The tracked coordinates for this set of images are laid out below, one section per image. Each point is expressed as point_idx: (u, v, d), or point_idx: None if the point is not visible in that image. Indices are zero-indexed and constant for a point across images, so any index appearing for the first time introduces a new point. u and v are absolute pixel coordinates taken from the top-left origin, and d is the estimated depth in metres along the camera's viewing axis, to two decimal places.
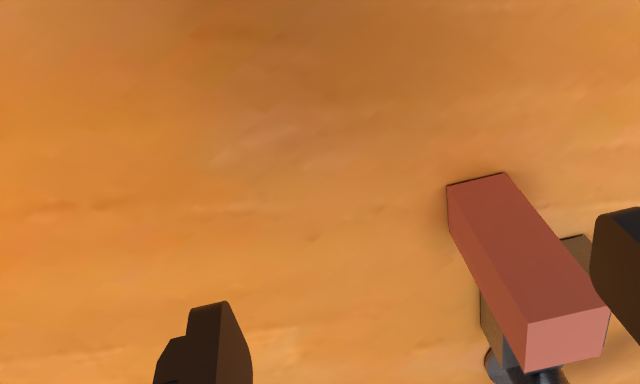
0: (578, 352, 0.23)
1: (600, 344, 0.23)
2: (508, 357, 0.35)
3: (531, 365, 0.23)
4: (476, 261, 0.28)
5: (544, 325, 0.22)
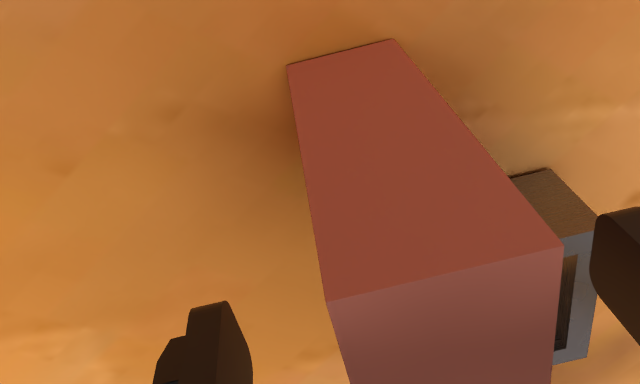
0: (492, 378, 0.09)
1: (545, 357, 0.09)
2: None
3: None
4: None
5: (377, 307, 0.08)
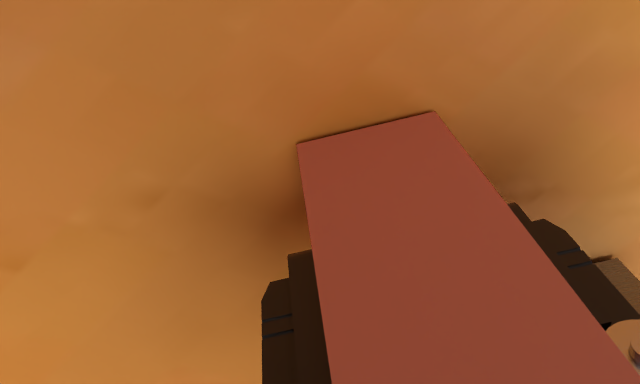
0: None
1: None
2: None
3: None
4: None
5: None
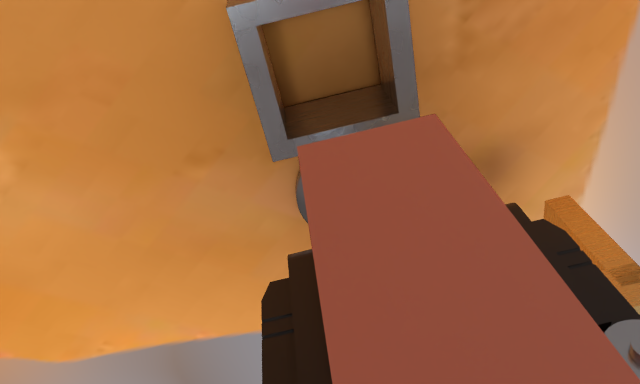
0: None
1: None
2: (275, 136, 0.24)
3: None
4: None
5: None
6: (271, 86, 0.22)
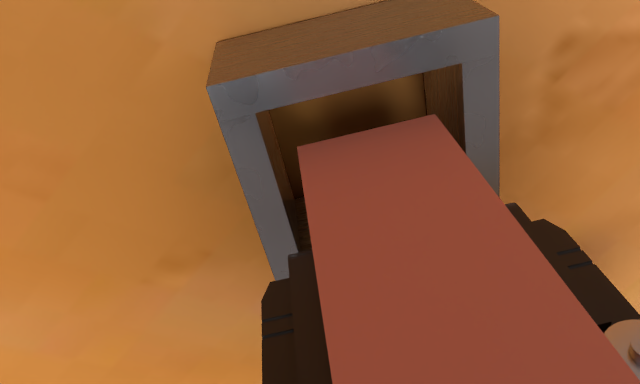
0: None
1: None
2: (283, 262, 0.16)
3: None
4: None
5: None
6: (278, 197, 0.14)
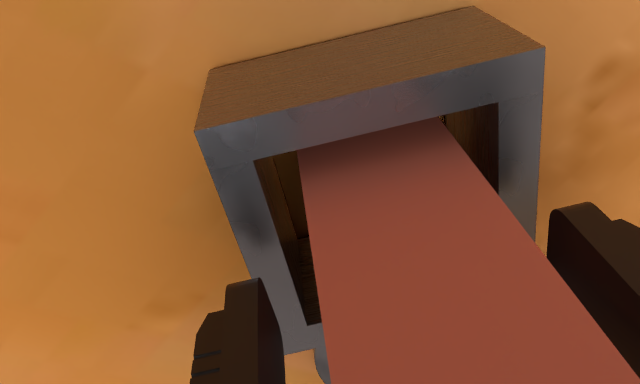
0: None
1: None
2: (285, 322, 0.14)
3: None
4: None
5: None
6: (280, 252, 0.12)
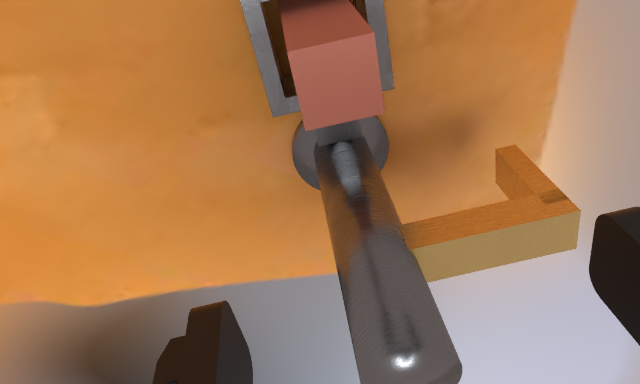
0: (358, 105, 0.22)
1: (379, 94, 0.22)
2: (274, 95, 0.29)
3: (309, 119, 0.22)
4: None
5: (306, 57, 0.21)
6: (271, 52, 0.27)
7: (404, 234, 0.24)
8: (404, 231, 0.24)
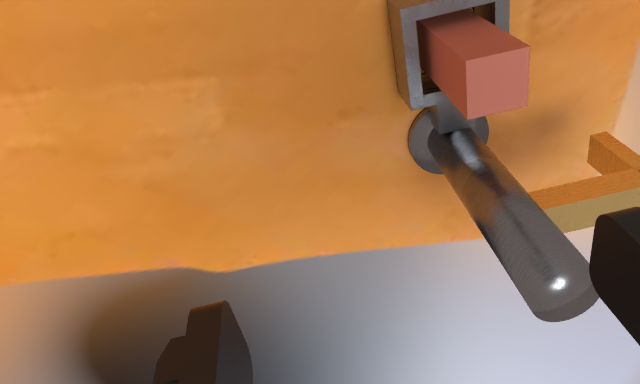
0: (509, 99, 0.30)
1: (525, 92, 0.30)
2: (415, 92, 0.36)
3: (472, 111, 0.30)
4: (435, 59, 0.34)
5: (479, 64, 0.28)
6: (418, 59, 0.35)
7: (535, 199, 0.32)
8: (534, 196, 0.32)
